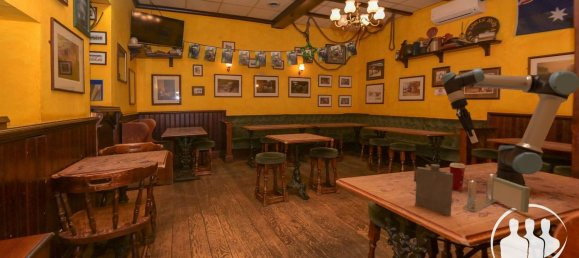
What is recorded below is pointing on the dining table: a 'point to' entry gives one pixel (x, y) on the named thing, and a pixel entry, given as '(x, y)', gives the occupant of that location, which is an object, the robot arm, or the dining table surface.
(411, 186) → the dining table surface
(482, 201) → the gate frame
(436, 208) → the hip flask
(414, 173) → the grey flat container
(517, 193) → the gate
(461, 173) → the paper cup
